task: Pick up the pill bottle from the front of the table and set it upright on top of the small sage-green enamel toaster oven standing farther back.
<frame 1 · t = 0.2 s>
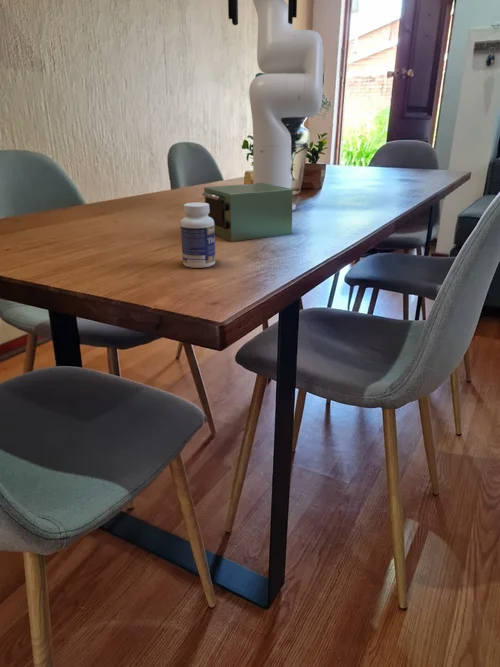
hand: (262, 23, 88), 37 cm above the table, tool pointing down, fingers open, 9 cm apart
toaster oven: (248, 232, 107), on the table
pill bottle: (199, 265, 84), on the table
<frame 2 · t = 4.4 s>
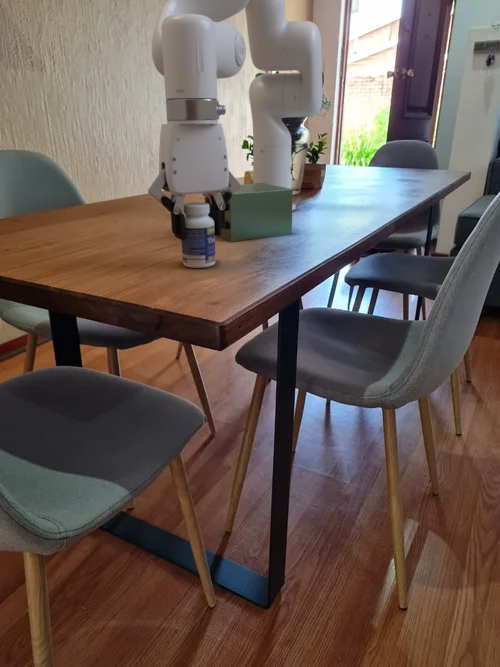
hand: (197, 234, 82), 5 cm above the table, tool pointing down, fingers closed on pill bottle, 5 cm apart
pill bottle: (199, 265, 84), on the table, touching gripper
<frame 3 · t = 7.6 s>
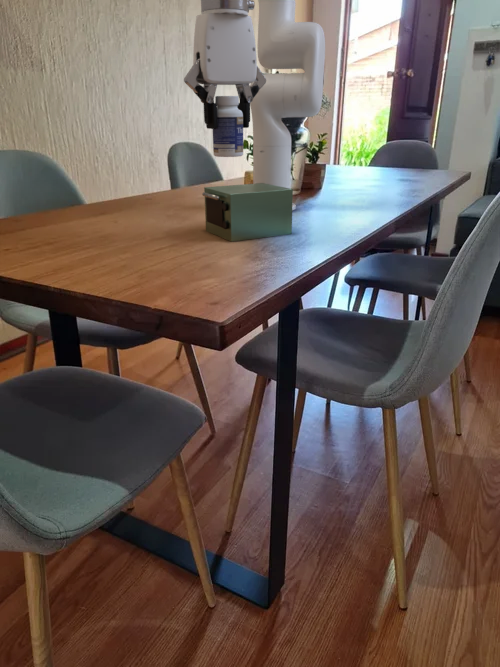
hand: (227, 126, 89), 21 cm above the table, tool pointing down, fingers closed on pill bottle, 5 cm apart
pill bottle: (228, 157, 91), point 16 cm above the table, touching gripper
when the fingers open (14 cm above the table, at t = 10.7 s): pill bottle stays where it is, resting on toaster oven.
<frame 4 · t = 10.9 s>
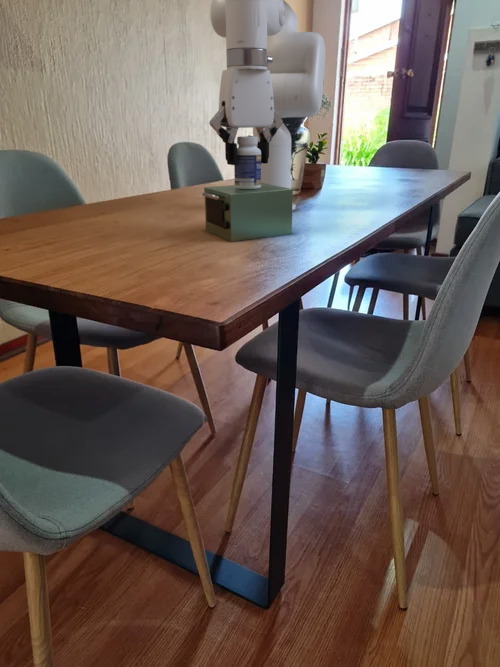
hand: (247, 163, 101), 14 cm above the table, tool pointing down, fingers open, 6 cm apart
pill bottle: (247, 189, 103), point 9 cm above the table, touching toaster oven
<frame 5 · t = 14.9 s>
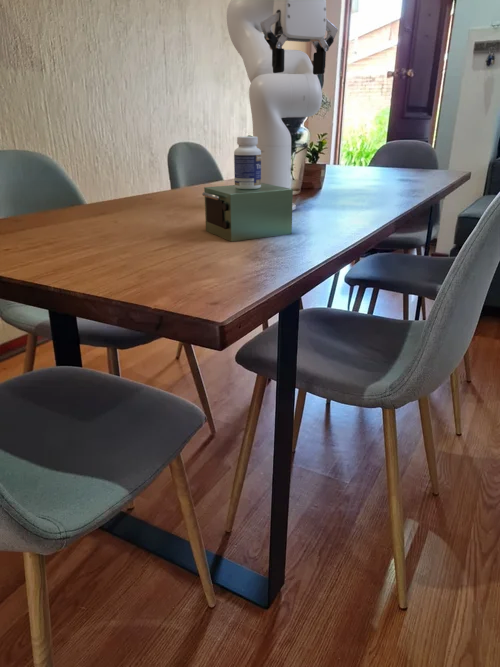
hand: (298, 73, 102), 30 cm above the table, tool pointing down, fingers open, 9 cm apart
nothing on the table moved.
at the end: pill bottle inside the target area on the toaster oven (0.0 cm from its centre), point 8.8 cm above the toaster oven's base; pill bottle tilted 0°; the gripper is holding nothing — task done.
